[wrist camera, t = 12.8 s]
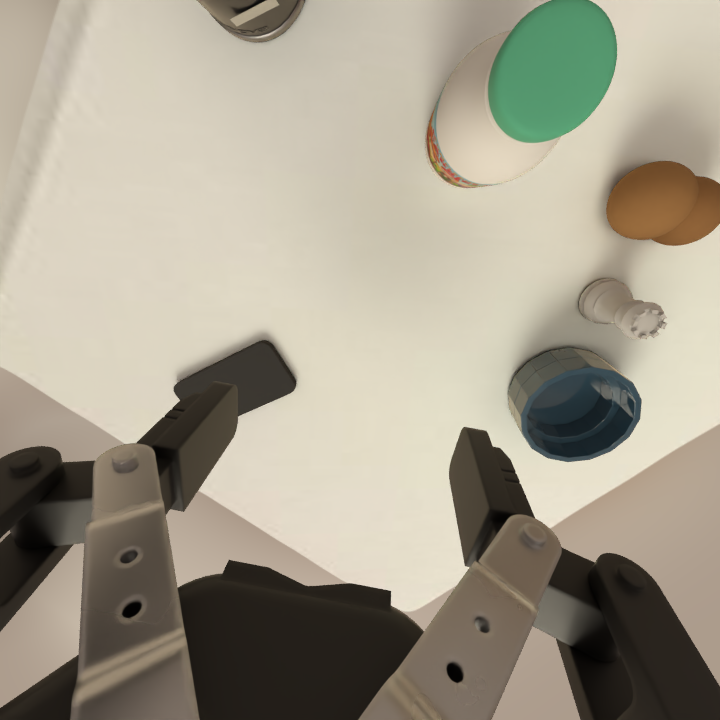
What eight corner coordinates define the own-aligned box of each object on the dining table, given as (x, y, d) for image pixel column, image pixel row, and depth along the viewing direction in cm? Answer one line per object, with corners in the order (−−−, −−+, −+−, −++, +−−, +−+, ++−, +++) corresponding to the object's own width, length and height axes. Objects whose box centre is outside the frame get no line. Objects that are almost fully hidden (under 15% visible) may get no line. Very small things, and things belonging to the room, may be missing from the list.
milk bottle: (449, 71, 30) (525, -115, 12) (531, 110, 31) (720, -10, 13) (409, 167, 33) (422, 136, 15) (484, 202, 34) (580, 210, 16)
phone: (298, 390, 44) (204, 431, 48) (300, 386, 44) (207, 427, 48) (265, 339, 41) (169, 387, 45) (267, 336, 42) (173, 384, 46)
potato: (611, 158, 31) (655, 151, 26) (711, 175, 31) (777, 171, 26) (582, 229, 34) (616, 236, 29) (675, 246, 34) (727, 256, 28)
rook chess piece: (633, 284, 36) (693, 306, 28) (609, 325, 37) (658, 355, 30) (590, 271, 36) (639, 291, 28) (568, 313, 37) (608, 341, 30)
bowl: (526, 337, 39) (545, 358, 34) (629, 356, 39) (663, 380, 34) (494, 421, 44) (506, 450, 39) (585, 438, 43) (609, 470, 38)
